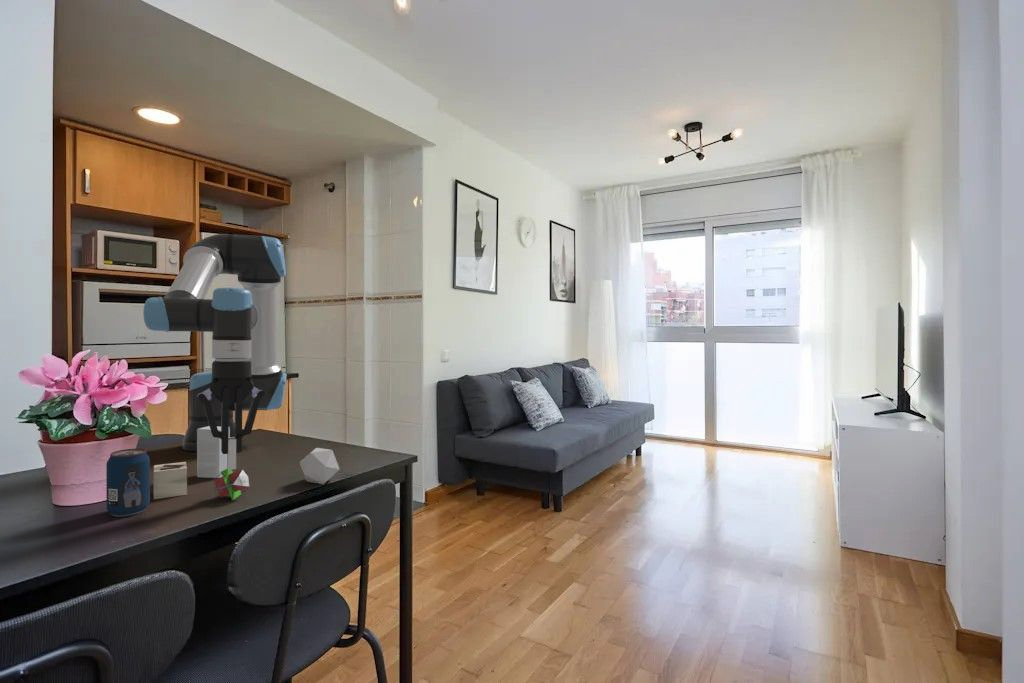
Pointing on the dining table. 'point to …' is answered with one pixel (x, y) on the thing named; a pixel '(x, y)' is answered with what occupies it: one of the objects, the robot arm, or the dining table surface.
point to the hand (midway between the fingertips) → (231, 467)
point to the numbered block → (170, 480)
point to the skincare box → (210, 454)
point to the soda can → (128, 482)
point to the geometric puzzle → (231, 483)
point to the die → (319, 465)
